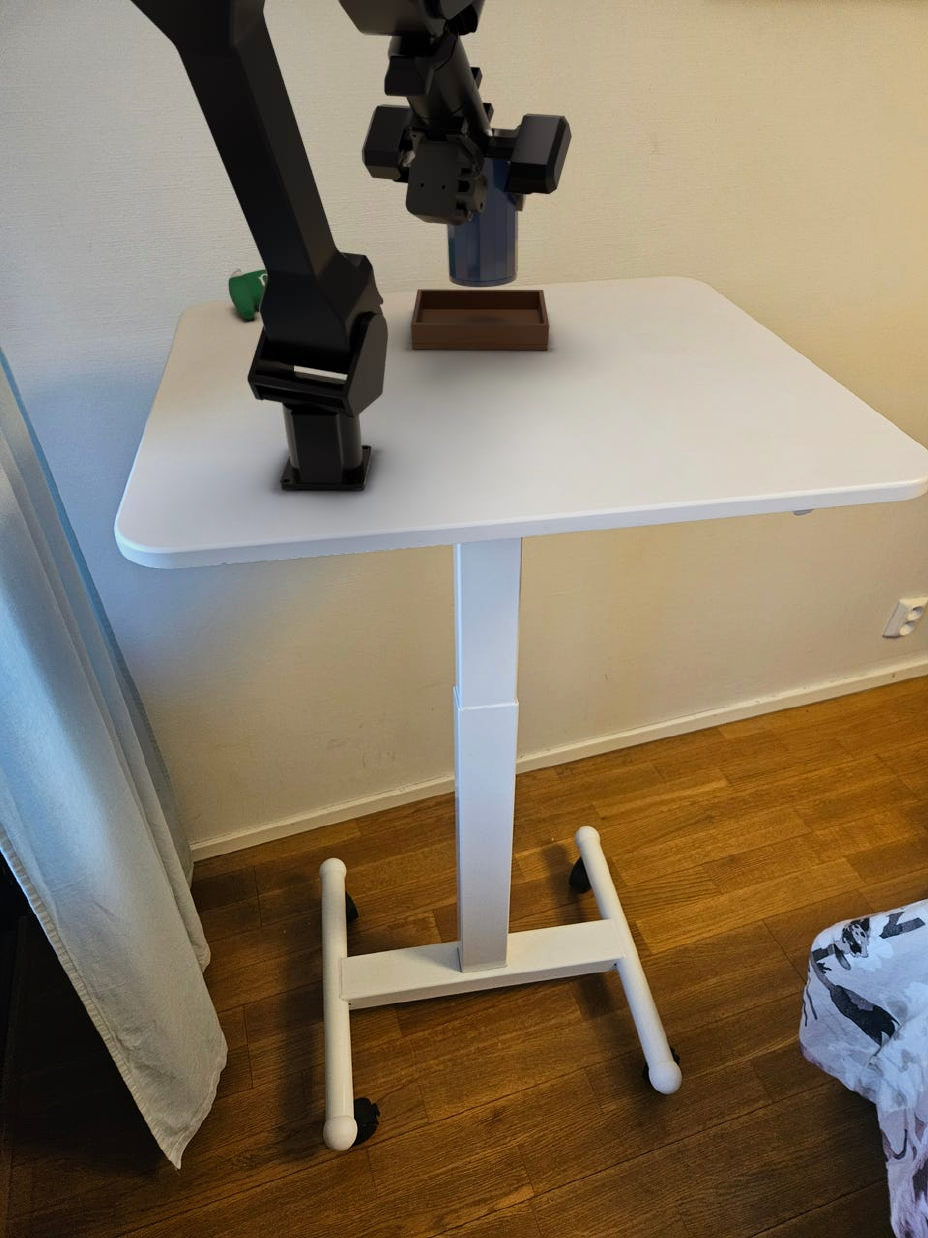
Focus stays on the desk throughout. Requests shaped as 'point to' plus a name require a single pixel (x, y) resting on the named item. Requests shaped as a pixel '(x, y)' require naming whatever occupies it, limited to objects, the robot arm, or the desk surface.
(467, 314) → the tray
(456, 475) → the desk surface
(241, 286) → the green rounded piece
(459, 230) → the cup
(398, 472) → the desk surface
